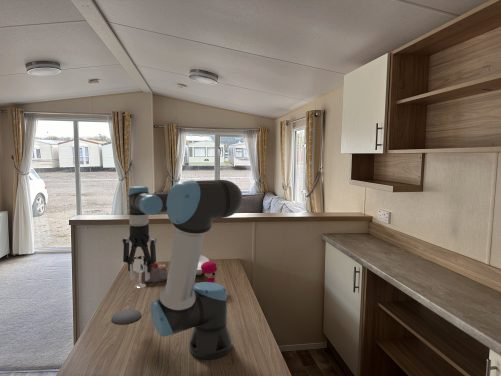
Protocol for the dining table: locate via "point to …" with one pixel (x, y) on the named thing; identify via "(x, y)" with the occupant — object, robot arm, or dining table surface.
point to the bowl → (201, 261)
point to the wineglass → (139, 268)
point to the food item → (156, 273)
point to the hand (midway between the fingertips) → (140, 279)
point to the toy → (209, 270)
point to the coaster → (126, 316)
